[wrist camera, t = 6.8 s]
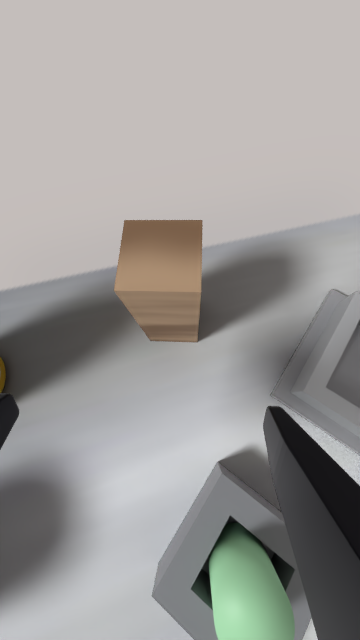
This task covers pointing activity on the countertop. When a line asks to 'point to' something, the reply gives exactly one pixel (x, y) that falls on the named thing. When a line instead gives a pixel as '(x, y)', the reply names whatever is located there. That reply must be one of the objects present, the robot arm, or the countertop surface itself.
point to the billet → (162, 277)
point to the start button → (247, 589)
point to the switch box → (197, 542)
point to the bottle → (2, 375)
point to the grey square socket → (328, 371)
